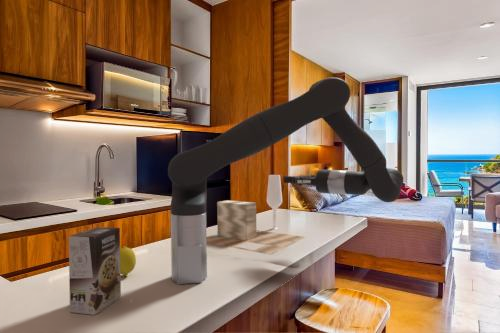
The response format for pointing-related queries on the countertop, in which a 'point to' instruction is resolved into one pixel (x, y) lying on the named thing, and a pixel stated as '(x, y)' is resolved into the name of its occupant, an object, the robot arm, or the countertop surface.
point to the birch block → (236, 219)
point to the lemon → (127, 260)
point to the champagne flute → (274, 195)
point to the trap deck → (258, 241)
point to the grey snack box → (94, 269)
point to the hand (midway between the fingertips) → (284, 179)
